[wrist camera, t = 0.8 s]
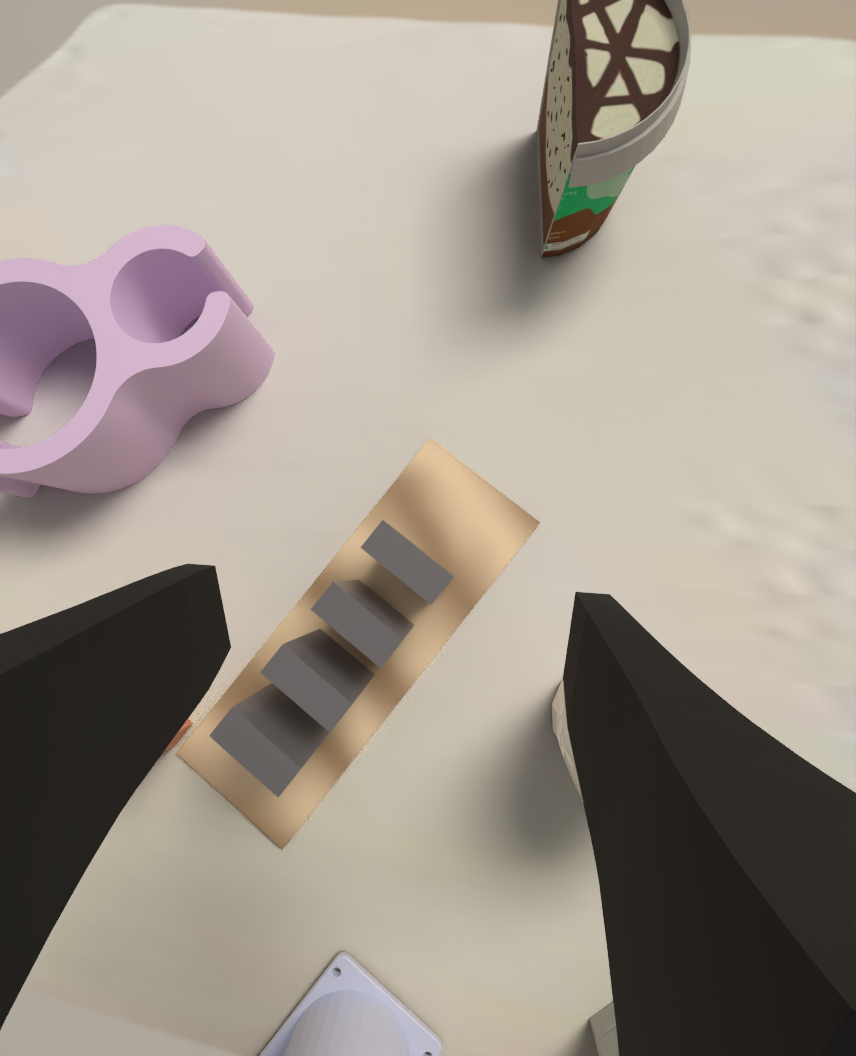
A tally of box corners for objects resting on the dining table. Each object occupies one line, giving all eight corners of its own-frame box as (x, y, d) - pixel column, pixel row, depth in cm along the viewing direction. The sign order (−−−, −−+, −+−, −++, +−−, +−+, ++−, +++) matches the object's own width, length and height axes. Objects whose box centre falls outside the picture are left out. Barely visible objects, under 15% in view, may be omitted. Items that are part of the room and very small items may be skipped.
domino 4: (317, 747, 31) (278, 797, 24) (262, 700, 32) (208, 735, 25) (335, 724, 31) (301, 768, 24) (280, 677, 32) (232, 707, 25)
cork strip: (283, 846, 31) (282, 849, 31) (178, 751, 32) (176, 753, 32) (539, 523, 32) (540, 522, 32) (430, 439, 33) (430, 438, 33)
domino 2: (397, 647, 32) (380, 668, 25) (341, 601, 32) (310, 609, 25) (414, 625, 32) (403, 639, 25) (359, 579, 32) (332, 581, 25)
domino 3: (357, 697, 31) (329, 732, 24) (302, 650, 32) (259, 672, 25) (375, 674, 32) (352, 703, 25) (320, 628, 32) (282, 643, 25)
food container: (634, 274, 33) (711, 147, 23) (541, 278, 34) (578, 154, 24) (625, 105, 34) (695, -85, 24) (535, 110, 35) (568, -75, 25)
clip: (230, 253, 35) (176, 175, 28) (299, 407, 34) (259, 364, 27) (-23, 372, 35) (-139, 324, 28) (35, 530, 34) (-71, 519, 27)
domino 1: (436, 597, 32) (431, 605, 25) (380, 552, 32) (360, 547, 25) (453, 575, 32) (453, 576, 25) (398, 531, 32) (382, 519, 25)
